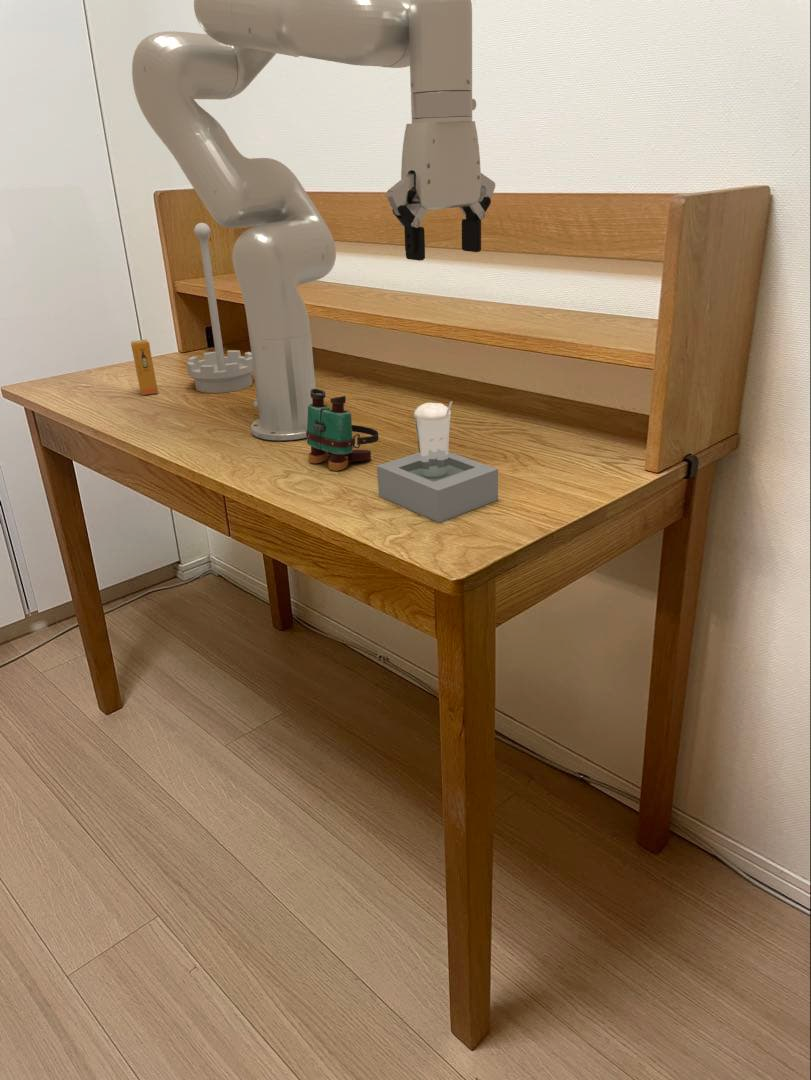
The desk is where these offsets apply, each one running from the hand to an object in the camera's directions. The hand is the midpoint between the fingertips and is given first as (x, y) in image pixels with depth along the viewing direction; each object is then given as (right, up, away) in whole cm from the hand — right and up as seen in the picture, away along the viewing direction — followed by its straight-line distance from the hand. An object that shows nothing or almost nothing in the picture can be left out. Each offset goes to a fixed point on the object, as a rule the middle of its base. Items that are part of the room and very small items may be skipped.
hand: (444, 255), depth 111 cm
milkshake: (-1, -29, -3) cm, 29 cm away
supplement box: (-55, -9, +52) cm, 76 cm away
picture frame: (-1, -32, -2) cm, 32 cm away
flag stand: (-41, -7, +54) cm, 68 cm away
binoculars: (-14, -26, +13) cm, 32 cm away
